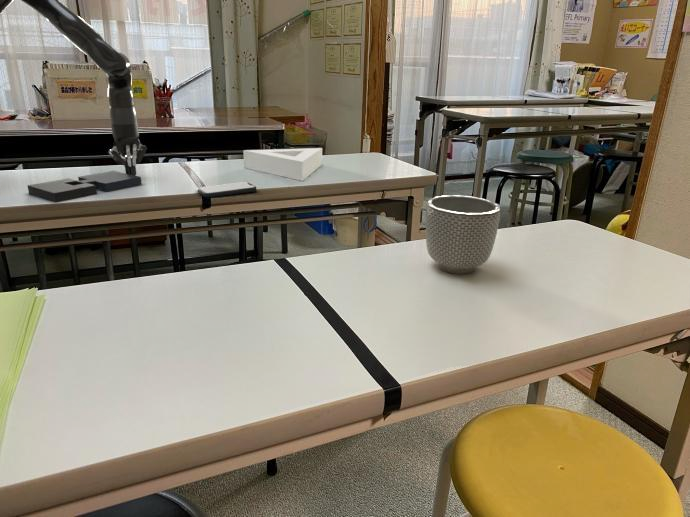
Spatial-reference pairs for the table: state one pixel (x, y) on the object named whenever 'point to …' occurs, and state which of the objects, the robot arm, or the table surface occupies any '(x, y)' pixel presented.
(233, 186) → the phone case
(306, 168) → the triangle block
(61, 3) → the robot arm
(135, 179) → the slate pad
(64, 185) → the black pad
